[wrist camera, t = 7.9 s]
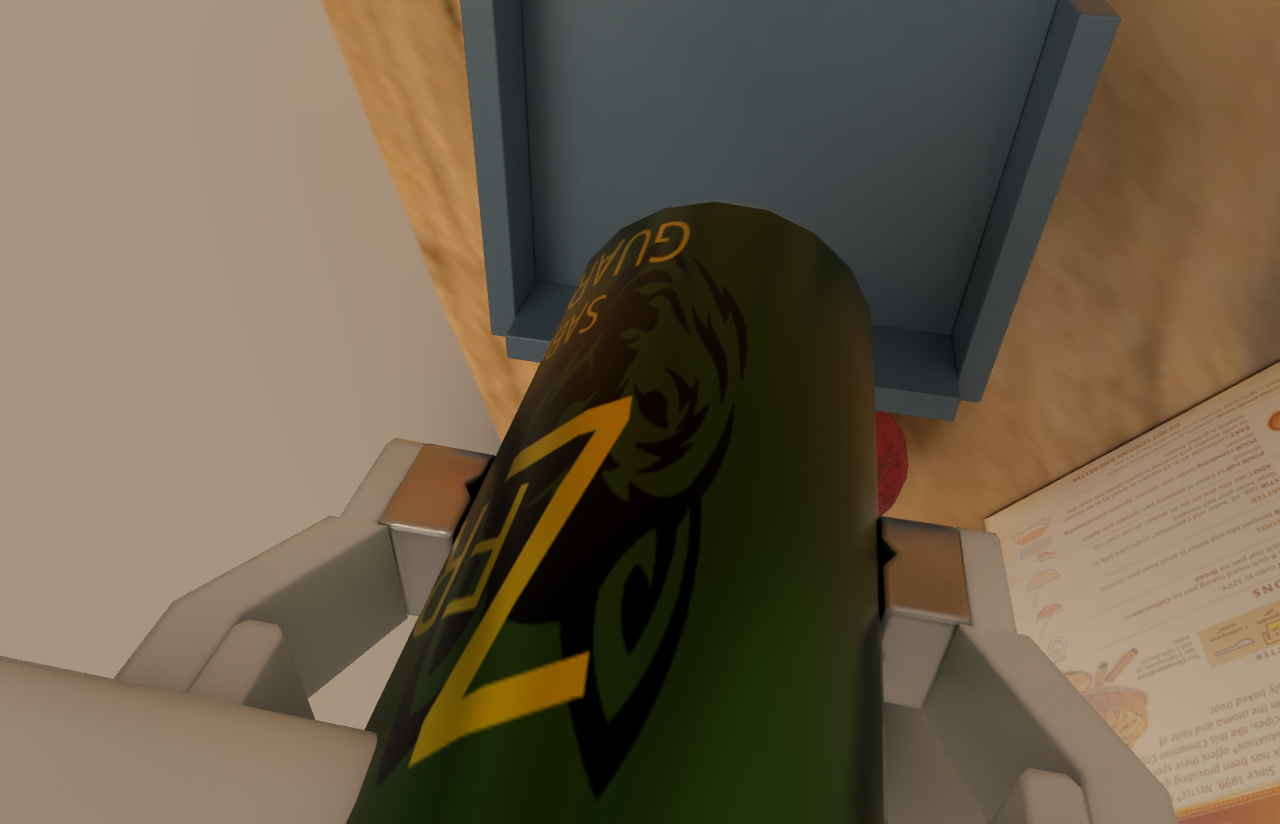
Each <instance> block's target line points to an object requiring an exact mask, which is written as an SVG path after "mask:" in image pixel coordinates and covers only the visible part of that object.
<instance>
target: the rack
mask: <svg viewBox="0 0 1280 824" xmlns="http://www.w3.org/2000/svg"><path fill="white" fill-rule="evenodd" d="M460 2H461V13H462V23H463V34H464V45H465V55H466V66H467V77H468V87H469V98H470V109H471V119H472V130H473V141H474V151H475V162H476V173H477V183H478V194H479V205H480V215H481V226H482V237H483V247H484V258H485V269H486V279H487V290H488V301H489V311H490V322H491V333H492V335H498V336H505V337H506V347H507V357H508V358H512V359H519V360H526V361H533V362H540V363H541V361H542V359H543V357H544V355H545V353H546V350H547V348H548V346H549V344H550V342H551V340H552V338H553V336H554V334H555V332H556V330H557V328H558V325H559V323H560V321H561V319H562V317H563V315H564V313H565V311H566V309H567V307H568V305H569V303H570V300H571V298H572V296H573V294H574V292H575V290H576V288H577V286H578V284H579V282H580V280H581V278H582V275H583V273H584V271H585V269H586V267H587V265H588V263H589V261H590V259H591V258H592V257H593V256H594V255H595V254H596V253H597V252H598V251H599V250H600V249H601V248H602V247H603V246H604V245H605V244H606V243H607V242H608V241H609V240H610V239H611V238H612V237H613V236H614V235H615V234H616V233H617V232H618V231H619V230H620V229H621V228H624V227H626V226H628V225H630V224H632V223H634V222H636V221H638V220H640V219H643V218H645V217H647V216H649V215H651V214H653V213H655V212H657V211H659V210H662V209H664V208H668V207H672V206H677V205H684V204H691V203H699V202H707V201H714V200H727V201H733V202H739V203H745V204H751V205H757V206H763V207H767V208H769V209H771V210H773V211H775V212H777V213H779V214H781V215H783V216H785V217H787V218H789V219H791V220H793V221H795V222H797V223H799V224H801V225H803V226H805V227H806V228H808V229H809V230H811V231H812V232H814V233H815V234H816V235H817V236H818V237H819V238H820V239H821V240H822V241H823V242H824V243H825V244H826V245H828V246H829V247H830V248H831V249H832V250H833V251H834V252H835V253H836V254H837V255H838V256H839V257H840V258H841V259H842V260H843V261H844V262H845V263H846V264H847V265H848V266H849V267H850V268H851V270H852V272H853V274H854V276H855V278H856V280H857V282H858V284H859V286H860V288H861V290H862V293H863V295H864V297H865V299H866V301H867V303H868V305H869V307H870V312H871V325H872V338H873V351H874V385H875V410H876V411H883V412H890V413H897V414H904V415H911V416H918V417H925V418H932V419H939V420H946V421H953V420H954V418H955V415H956V412H957V409H958V407H959V404H960V401H961V400H964V401H971V402H980V401H981V398H982V396H983V393H984V390H985V387H986V385H987V382H988V379H989V377H990V374H991V371H992V368H993V366H994V363H995V360H996V357H997V355H998V352H999V349H1000V347H1001V344H1002V341H1003V338H1004V336H1005V333H1006V330H1007V328H1008V325H1009V322H1010V319H1011V317H1012V314H1013V311H1014V308H1015V306H1016V303H1017V300H1018V298H1019V295H1020V292H1021V289H1022V287H1023V284H1024V281H1025V279H1026V276H1027V273H1028V270H1029V268H1030V265H1031V262H1032V259H1033V257H1034V254H1035V251H1036V249H1037V246H1038V243H1039V240H1040V238H1041V235H1042V232H1043V230H1044V227H1045V224H1046V221H1047V219H1048V216H1049V213H1050V210H1051V208H1052V205H1053V202H1054V200H1055V197H1056V194H1057V191H1058V189H1059V186H1060V183H1061V181H1062V178H1063V175H1064V172H1065V170H1066V167H1067V164H1068V161H1069V159H1070V156H1071V153H1072V151H1073V148H1074V145H1075V142H1076V140H1077V137H1078V134H1079V132H1080V129H1081V126H1082V123H1083V121H1084V118H1085V115H1086V112H1087V110H1088V107H1089V104H1090V102H1091V99H1092V96H1093V93H1094V91H1095V88H1096V85H1097V83H1098V80H1099V77H1100V74H1101V72H1102V69H1103V66H1104V63H1105V61H1106V58H1107V55H1108V53H1109V50H1110V47H1111V44H1112V42H1113V39H1114V36H1115V34H1116V31H1117V28H1118V25H1119V23H1120V20H1121V18H1120V16H1119V15H1118V14H1117V13H1116V11H1115V10H1114V9H1113V8H1112V7H1111V6H1110V4H1109V3H1108V2H1107V1H1106V0H460Z"/></svg>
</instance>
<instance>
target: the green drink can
mask: <svg viewBox="0 0 1280 824" xmlns="http://www.w3.org/2000/svg"><path fill="white" fill-rule="evenodd" d="M877 519H878V485H877V452H876V418H875V385H874V351H873V338H872V325H871V312H870V307H869V305H868V303H867V301H866V299H865V297H864V295H863V293H862V290H861V288H860V286H859V284H858V282H857V280H856V278H855V276H854V274H853V272H852V270H851V268H850V267H849V266H848V265H847V264H846V263H845V262H844V261H843V260H842V259H841V258H840V257H839V256H838V255H837V254H836V253H835V252H834V251H833V250H832V249H831V248H830V247H829V246H828V245H826V244H825V243H824V242H823V241H822V240H821V239H820V238H819V237H818V236H817V235H816V234H815V233H814V232H812V231H811V230H809V229H808V228H806V227H805V226H803V225H801V224H799V223H797V222H795V221H793V220H791V219H789V218H787V217H785V216H783V215H781V214H779V213H777V212H775V211H773V210H771V209H769V208H767V207H763V206H757V205H751V204H745V203H739V202H733V201H727V200H714V201H707V202H699V203H691V204H684V205H677V206H672V207H668V208H664V209H662V210H659V211H657V212H655V213H653V214H651V215H649V216H647V217H645V218H643V219H640V220H638V221H636V222H634V223H632V224H630V225H628V226H626V227H624V228H621V229H620V230H619V231H618V232H617V233H616V234H615V235H614V236H613V237H612V238H611V239H610V240H609V241H608V242H607V243H606V244H605V245H604V246H603V247H602V248H601V249H600V250H599V251H598V252H597V253H596V254H595V255H594V256H593V257H592V258H591V259H590V261H589V263H588V265H587V267H586V269H585V271H584V273H583V275H582V278H581V280H580V282H579V284H578V286H577V288H576V290H575V292H574V294H573V296H572V298H571V300H570V303H569V305H568V307H567V309H566V311H565V313H564V315H563V317H562V319H561V321H560V323H559V325H558V328H557V330H556V332H555V334H554V336H553V338H552V340H551V342H550V344H549V346H548V348H547V350H546V353H545V355H544V357H543V359H542V361H541V363H540V365H539V367H538V369H537V371H536V373H535V376H534V378H533V380H532V382H531V384H530V386H529V388H528V390H527V392H526V394H525V396H524V398H523V401H522V403H521V405H520V407H519V409H518V411H517V413H516V415H515V417H514V419H513V421H512V423H511V426H510V428H509V430H508V432H507V434H506V436H505V438H504V440H503V442H502V444H501V446H500V448H499V451H498V453H497V455H496V457H495V459H494V461H493V463H492V465H491V467H490V469H489V471H488V474H487V476H486V478H485V480H484V482H483V484H482V486H481V488H480V490H479V492H478V494H477V496H476V499H475V501H474V503H473V505H472V507H471V509H470V511H469V513H468V515H467V517H466V519H465V521H464V524H463V526H462V528H461V530H460V532H459V534H458V536H457V538H456V540H455V542H454V544H453V546H452V549H451V551H450V553H449V555H448V557H447V559H446V561H445V563H444V565H443V567H442V569H441V571H440V574H439V576H438V578H437V580H436V582H435V584H434V586H433V588H432V590H431V592H430V594H429V597H428V599H427V601H426V603H425V605H424V607H423V609H422V611H421V613H420V615H419V617H418V620H417V622H416V624H415V626H414V628H413V630H412V632H411V634H410V636H409V638H408V641H407V642H406V645H405V647H404V649H403V651H402V653H401V655H400V657H399V659H398V661H397V663H396V665H395V667H394V670H393V672H392V674H391V676H390V678H389V680H388V682H387V684H386V686H385V689H384V690H383V693H382V695H381V697H380V699H379V701H378V703H377V705H376V707H375V709H374V711H373V713H372V715H371V717H370V720H369V722H368V724H367V726H366V728H365V730H366V731H371V732H374V733H375V734H376V735H377V744H376V748H375V751H374V753H373V756H372V759H371V762H370V764H369V767H368V770H367V773H366V775H365V778H364V781H363V784H362V786H361V789H360V792H359V795H358V797H357V800H356V802H355V805H354V807H353V809H352V811H351V813H350V815H349V818H348V820H347V822H346V824H888V821H887V786H886V753H885V723H884V722H885V720H884V686H883V652H882V636H881V625H880V594H879V579H880V569H879V555H878V523H877Z"/></svg>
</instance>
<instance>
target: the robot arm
mask: <svg viewBox="0 0 1280 824" xmlns="http://www.w3.org/2000/svg"><path fill="white" fill-rule="evenodd" d="M495 457H496V456H494V455H489V454H484V453H478V452H472V451H467V450H462V449H456V448H451V447H446V446H440V445H434V444H425V443H419V442H414V441H409V440H404V439H398V438H395V439H393V440H392V441H390V442H389V443H388V444H387V445H386V446H385V447H384V449H383V450H382V452H381V454H380V455H379V457H378V458H377V460H376V461H375V463H374V465H373V466H372V468H371V469H370V471H369V472H368V474H367V475H366V477H365V478H364V480H363V482H362V483H361V485H360V486H359V488H358V489H357V491H356V493H355V494H354V496H353V497H352V499H351V500H350V502H349V503H348V505H347V507H346V508H345V510H344V511H343V513H342V514H341V516H340V517H334V516H329V517H327V518H325V519H323V520H321V521H320V522H318V523H316V524H314V525H312V526H310V527H309V528H307V529H305V530H303V531H301V532H300V533H298V534H296V535H294V536H292V537H290V538H288V539H287V540H285V541H283V542H281V543H279V544H277V545H276V546H274V547H272V548H270V549H268V550H267V551H265V552H263V553H261V554H259V555H257V556H256V557H254V558H252V559H250V560H248V561H246V562H245V563H243V564H241V565H239V566H237V567H235V568H234V569H232V570H230V571H228V572H226V573H224V574H223V575H221V576H219V577H217V578H215V579H213V580H212V581H210V582H208V583H206V584H205V585H203V586H201V587H199V588H197V589H195V590H193V591H191V592H190V593H188V594H186V595H184V596H182V597H181V598H179V599H177V600H175V601H173V602H172V604H171V605H170V606H169V607H168V609H167V610H166V611H165V613H164V614H163V615H162V617H161V618H160V619H159V621H158V622H157V623H156V625H155V626H154V627H153V628H152V629H151V631H150V632H149V633H148V635H147V636H146V637H145V639H144V640H143V642H142V643H141V644H140V645H139V646H138V648H137V649H136V650H135V652H134V653H133V654H132V656H131V657H130V658H129V659H128V661H127V662H126V663H125V665H124V666H123V667H122V669H121V670H120V671H119V673H118V674H117V675H116V677H115V678H114V679H111V678H106V677H101V676H96V675H92V674H87V673H81V672H77V671H72V670H67V669H62V668H57V667H52V666H48V665H43V664H38V663H33V662H28V661H23V660H18V659H13V658H8V657H4V656H0V824H346V822H347V820H348V818H349V815H350V813H351V811H352V809H353V807H354V805H355V802H356V800H357V797H358V795H359V792H360V789H361V786H362V784H363V781H364V778H365V775H366V773H367V770H368V767H369V764H370V762H371V759H372V756H373V753H374V751H375V748H376V744H377V735H376V734H375V733H374V732H371V731H366V730H361V729H356V728H350V727H346V726H341V725H336V724H331V723H326V722H322V721H317V720H315V718H314V715H313V712H312V710H311V707H310V704H309V702H308V698H309V697H310V696H312V695H313V694H314V693H315V692H317V691H318V690H319V689H320V688H321V687H323V686H324V685H325V684H326V683H328V682H329V681H330V680H331V679H333V678H334V677H335V676H336V675H337V674H339V673H340V672H341V671H343V670H344V669H345V668H346V667H347V666H349V665H350V664H351V663H352V662H354V661H355V660H356V659H357V658H359V657H360V656H361V655H362V654H364V653H365V652H366V651H367V650H369V649H370V648H371V647H372V646H373V645H375V644H376V643H377V642H378V641H380V640H381V639H382V638H383V637H385V636H386V635H387V634H388V633H390V632H391V631H392V630H393V629H395V628H396V627H397V626H398V625H400V624H401V623H402V622H403V621H404V620H406V619H407V618H408V617H407V614H408V615H415V616H419V615H420V613H421V611H422V609H423V607H424V605H425V603H426V601H427V599H428V597H429V594H430V592H431V590H432V588H433V586H434V584H435V582H436V580H437V578H438V576H439V574H440V571H441V569H442V567H443V565H444V563H445V561H446V559H447V557H448V555H449V553H450V551H451V549H452V546H453V544H454V542H455V540H456V538H457V536H458V534H459V532H460V530H461V528H462V526H463V524H464V521H465V519H466V517H467V515H468V513H469V511H470V509H471V507H472V505H473V503H474V501H475V499H476V496H477V494H478V492H479V490H480V488H481V486H482V484H483V482H484V480H485V478H486V476H487V474H488V471H489V469H490V467H491V465H492V463H493V461H494V459H495ZM877 523H878V555H879V569H880V579H879V594H880V625H881V636H882V652H883V686H884V701H885V702H889V703H894V704H898V705H903V706H908V707H913V708H917V709H922V710H921V714H922V716H923V717H924V719H925V721H926V722H927V724H928V726H929V727H930V729H931V731H932V732H933V734H934V736H935V737H936V739H937V741H938V742H939V744H940V745H941V747H942V749H943V750H944V752H945V754H946V756H947V757H948V759H949V761H950V762H951V764H952V766H953V767H954V769H955V771H956V772H957V774H958V776H959V777H960V779H961V781H962V782H963V784H964V786H965V787H966V789H967V791H968V792H969V794H970V795H971V797H972V799H973V801H974V802H975V804H976V806H977V807H978V809H979V810H980V812H981V814H982V816H983V817H984V819H985V820H986V822H987V824H1178V822H1177V818H1176V815H1175V811H1174V808H1173V804H1172V801H1171V798H1170V794H1169V792H1168V790H1167V789H1166V788H1165V787H1164V786H1163V785H1162V784H1161V783H1160V782H1159V780H1158V779H1157V778H1156V777H1155V776H1154V775H1153V774H1152V773H1151V772H1150V770H1149V769H1148V768H1147V767H1146V766H1145V765H1144V764H1143V763H1142V761H1141V760H1140V759H1139V758H1138V757H1137V756H1136V755H1135V754H1134V753H1133V751H1132V750H1131V749H1130V748H1129V747H1128V746H1127V745H1126V744H1125V742H1124V741H1123V740H1122V739H1121V738H1120V737H1119V736H1118V735H1117V734H1116V732H1115V731H1114V730H1113V729H1112V728H1111V727H1110V726H1109V725H1108V724H1107V722H1106V721H1105V720H1104V719H1103V718H1102V717H1101V716H1100V715H1099V713H1098V712H1097V711H1096V710H1095V709H1094V708H1093V707H1092V706H1091V705H1090V703H1089V702H1088V701H1087V700H1086V699H1085V698H1084V697H1083V696H1082V694H1081V693H1080V692H1079V691H1078V690H1077V689H1076V688H1075V687H1074V686H1073V684H1072V683H1071V682H1070V681H1069V680H1068V679H1067V678H1066V677H1065V676H1064V674H1063V673H1062V672H1061V671H1060V670H1059V669H1058V668H1057V667H1056V665H1055V664H1054V663H1053V662H1052V661H1051V660H1050V659H1049V658H1048V657H1047V655H1046V654H1045V653H1044V652H1043V651H1042V650H1041V649H1040V648H1039V647H1038V645H1037V644H1036V643H1035V642H1034V641H1033V640H1032V639H1031V638H1030V636H1026V635H1021V634H1017V630H1016V624H1015V619H1014V613H1013V608H1012V602H1011V597H1010V592H1009V586H1008V581H1007V575H1006V570H1005V564H1004V559H1003V553H1002V548H1001V542H1000V539H999V537H998V536H997V535H996V533H993V532H986V531H979V530H972V529H965V528H958V527H956V528H954V527H951V526H944V525H937V524H931V523H924V522H917V521H910V520H904V519H897V518H890V517H884V516H879V517H878V519H877Z"/></svg>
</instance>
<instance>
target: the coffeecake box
mask: <svg viewBox="0 0 1280 824" xmlns="http://www.w3.org/2000/svg"><path fill="white" fill-rule="evenodd" d="M984 522H985V528H986V532H993V533H996V535H997V536H998V537H999V539H1000V542H1001V548H1002V553H1003V559H1004V564H1005V570H1006V575H1007V581H1008V586H1009V592H1010V597H1011V602H1012V608H1013V613H1014V619H1015V624H1016V630H1017V634H1021V635H1026V636H1030V638H1031V639H1032V640H1033V641H1034V642H1035V643H1036V644H1037V645H1038V647H1039V648H1040V649H1041V650H1042V651H1043V652H1044V653H1045V654H1046V655H1047V657H1048V658H1049V659H1050V660H1051V661H1052V662H1053V663H1054V664H1055V665H1056V667H1057V668H1058V669H1059V670H1060V671H1061V672H1062V673H1063V674H1064V676H1065V677H1066V678H1067V679H1068V680H1069V681H1070V682H1071V683H1072V684H1073V686H1074V687H1075V688H1076V689H1077V690H1078V691H1079V692H1080V693H1081V694H1082V696H1083V697H1084V698H1085V699H1086V700H1087V701H1088V702H1089V703H1090V705H1091V706H1092V707H1093V708H1094V709H1095V710H1096V711H1097V712H1098V713H1099V715H1100V716H1101V717H1102V718H1103V719H1104V720H1105V721H1106V722H1107V724H1108V725H1109V726H1110V727H1111V728H1112V729H1113V730H1114V731H1115V732H1116V734H1117V735H1118V736H1119V737H1120V738H1121V739H1122V740H1123V741H1124V742H1125V744H1126V745H1127V746H1128V747H1129V748H1130V749H1131V750H1132V751H1133V753H1134V754H1135V755H1136V756H1137V757H1138V758H1139V759H1140V760H1141V761H1142V763H1143V764H1144V765H1145V766H1146V767H1147V768H1148V769H1149V770H1150V772H1151V773H1152V774H1153V775H1154V776H1155V777H1156V778H1157V779H1158V780H1159V782H1160V783H1161V784H1162V785H1163V786H1164V787H1165V788H1166V789H1167V790H1168V792H1169V794H1170V798H1171V801H1172V804H1173V808H1174V811H1175V815H1176V818H1177V822H1178V824H1280V362H1278V363H1276V364H1274V365H1273V366H1271V367H1269V368H1267V369H1265V370H1263V371H1261V372H1259V373H1258V374H1256V375H1254V376H1252V377H1250V378H1248V379H1246V380H1245V381H1243V382H1241V383H1239V384H1237V385H1235V386H1233V387H1231V388H1230V389H1228V390H1226V391H1224V392H1222V393H1220V394H1218V395H1216V396H1214V397H1212V398H1211V399H1209V400H1207V401H1205V402H1203V403H1201V404H1199V405H1198V406H1196V407H1194V408H1192V409H1190V410H1189V411H1187V412H1185V413H1183V414H1181V415H1179V416H1177V417H1175V418H1174V419H1172V420H1170V421H1168V422H1166V423H1164V424H1162V425H1160V426H1158V427H1156V428H1155V429H1153V430H1151V431H1149V432H1147V433H1145V434H1143V435H1141V436H1140V437H1138V438H1136V439H1134V440H1132V441H1130V442H1129V443H1127V444H1125V445H1123V446H1121V447H1119V448H1117V449H1116V450H1114V451H1112V452H1110V453H1108V454H1106V455H1104V456H1102V457H1101V458H1099V459H1097V460H1095V461H1093V462H1091V463H1089V464H1087V465H1085V466H1084V467H1082V468H1080V469H1078V470H1076V471H1074V472H1072V473H1070V474H1069V475H1067V476H1065V477H1063V478H1061V479H1059V480H1058V481H1056V482H1054V483H1052V484H1050V485H1049V486H1047V487H1045V488H1043V489H1041V490H1039V491H1037V492H1035V493H1033V494H1031V495H1029V496H1028V497H1026V498H1024V499H1022V500H1020V501H1018V502H1016V503H1014V504H1013V505H1011V506H1009V507H1007V508H1005V509H1003V510H1001V511H999V512H998V513H996V514H994V515H992V516H990V517H988V518H986V519H985V520H984Z"/></svg>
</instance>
